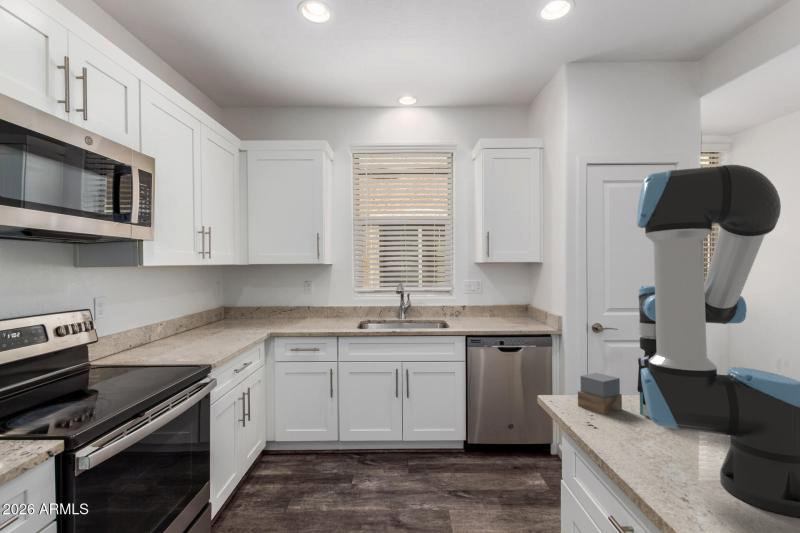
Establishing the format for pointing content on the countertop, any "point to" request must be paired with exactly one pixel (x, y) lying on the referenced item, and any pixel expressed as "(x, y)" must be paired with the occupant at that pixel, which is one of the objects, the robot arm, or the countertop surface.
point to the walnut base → (600, 403)
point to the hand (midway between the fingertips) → (655, 412)
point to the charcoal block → (600, 385)
